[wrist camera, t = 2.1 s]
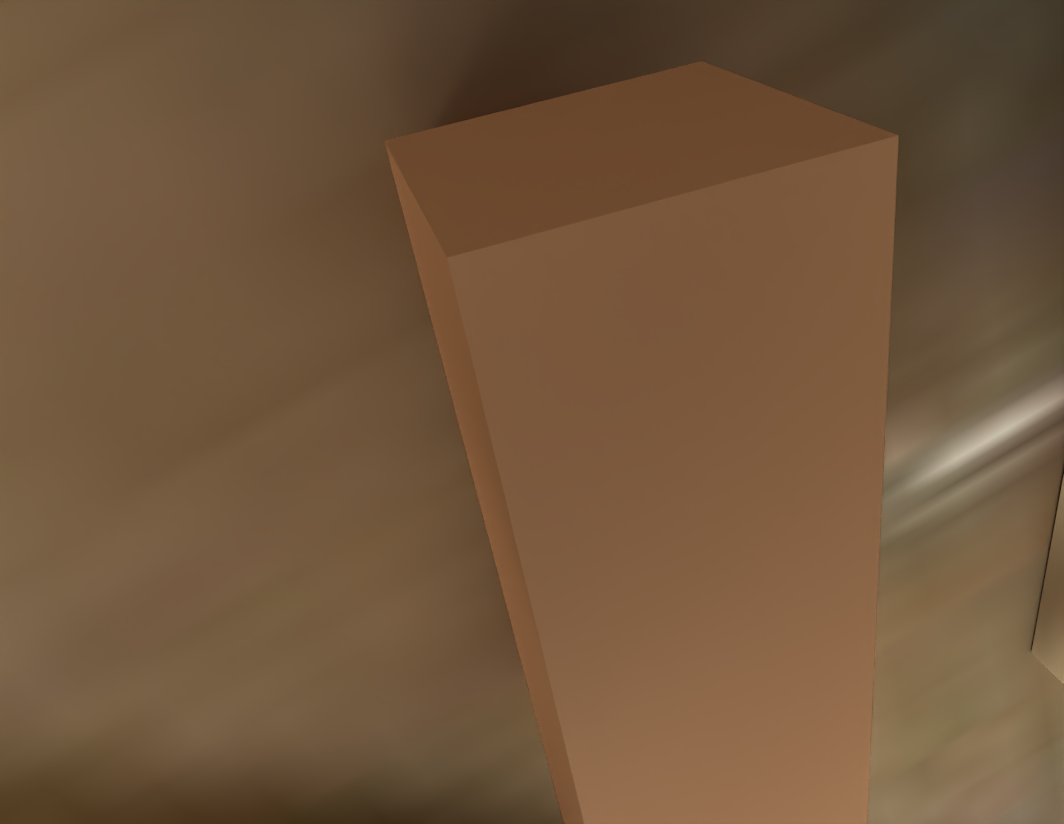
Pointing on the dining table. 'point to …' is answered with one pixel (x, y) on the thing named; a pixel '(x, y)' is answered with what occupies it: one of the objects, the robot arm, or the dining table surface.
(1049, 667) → the rail
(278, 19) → the dining table surface
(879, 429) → the orange-tan bridge block
